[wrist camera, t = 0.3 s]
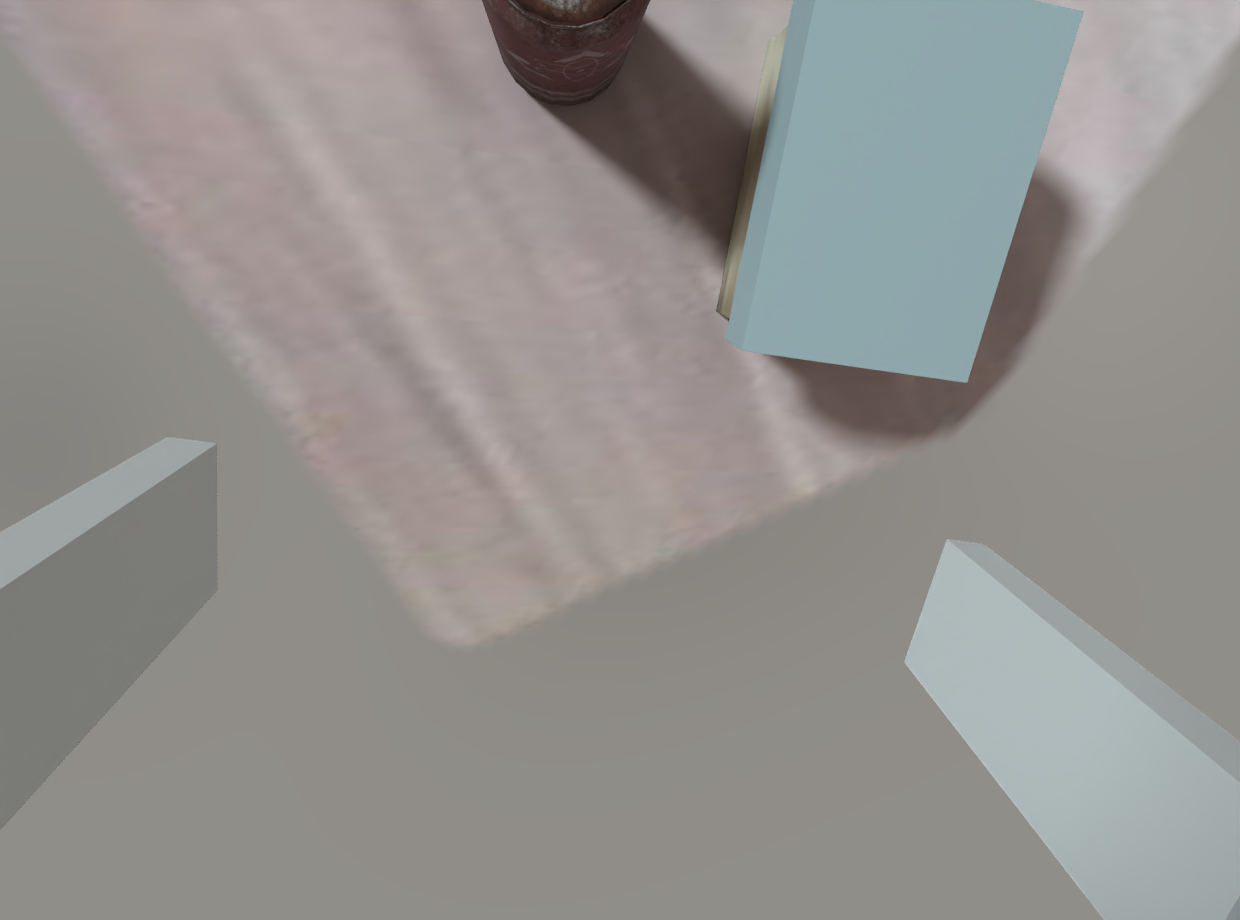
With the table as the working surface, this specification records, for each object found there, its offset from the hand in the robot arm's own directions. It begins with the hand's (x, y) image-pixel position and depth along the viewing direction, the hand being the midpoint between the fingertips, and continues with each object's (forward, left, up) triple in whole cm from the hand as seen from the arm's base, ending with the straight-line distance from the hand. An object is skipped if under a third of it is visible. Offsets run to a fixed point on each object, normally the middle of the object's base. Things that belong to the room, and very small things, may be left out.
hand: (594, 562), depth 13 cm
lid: (-9, +12, -20) cm, 25 cm away
